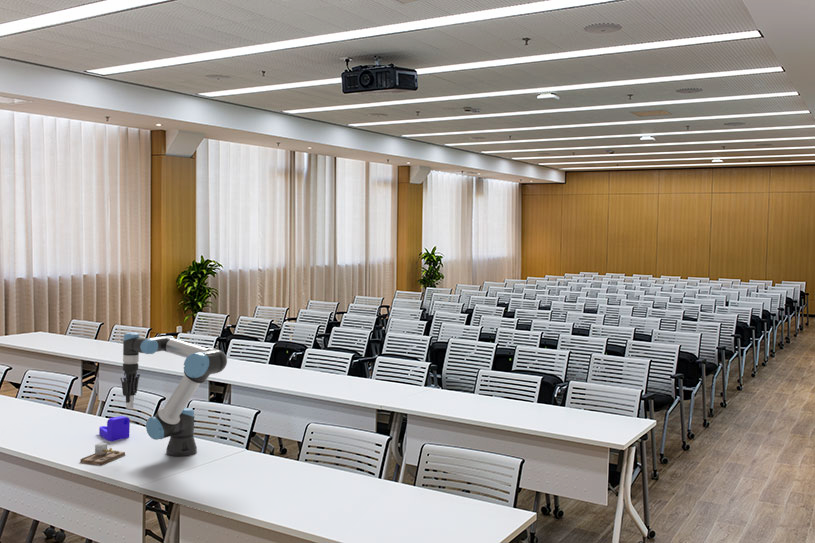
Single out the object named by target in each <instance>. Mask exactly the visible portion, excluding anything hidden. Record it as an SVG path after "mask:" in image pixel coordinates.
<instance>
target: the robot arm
mask: <svg viewBox="0 0 815 543" xmlns="http://www.w3.org/2000/svg"><path fill="white" fill-rule="evenodd" d="M122 343H123V344H122V346H123V348H122V350H123V351H122V361H123V362H122V371H123V372H124V374H123V377H120V381H121V388H122V396H124V397H125V409H126V410H127V409H129V410H131V409H134V401H135V400H134V398H135V396H136V395H137V392H138V386H139V380H140V376H141V374H138V373H137V371H138V370H139V363H138V362H139V354H146V355H154V354H155V353H158V352H165V353H169V354H173V355H175V356H180V357H182V358H185V360H184V362H183V374H184V375H183V377H182V378H181V380H180V381H179V382H178V385H177V387H176V388H175V389H174V391H173V393H172V394H171V396H170V397H169V399H168V400H167V402H166V404H165V405H164V406H163V407H161V408H159V409H158V410H157V412H156V413H155V415H154V416H150V417H149V418H148V419H147V420H146V423H145V428H146V429H145V430H146V433H147V434H148V436H149V438H151V439H152V440H155V441H158V440H163V439H166V438H169V437H170V438H169V441H168V443H167V447H166V450H165V451H166V455H168V456H173V457H186V456H191V455H194V454H196V453H197V452H198V446H197V443H196V440H195V436H194V435H195V410H194V409H192V408H189V407H186V406H187V405H188V404H189V402H190V400H191V398H193V396H194V393H195V392H196V390H197V389H198V388H199V386H200V384H204V383H206V381H207V380H208V378H209V376H211V375H215V374H218V373H221V372H222V371H224V369H225V368H226V366H227V365H228V358H227V355H226V354H225V352H223V351H222V350H220V349H217V348H214V347H208V348H206V347H203V346H199V345H196V344H192V343H190V342H186V341H183V340H179V339H176V337H174V336H172V335H163V336H155V337H154V336H153V337H147V338H146V337H145V338H144V337H140V333H138V332H125V333H124V335H123V341H122Z"/></svg>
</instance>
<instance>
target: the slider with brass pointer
mask: <svg viewBox="0 0 815 543" xmlns="http://www.w3.org/2000/svg"><path fill="white" fill-rule="evenodd" d="M108 448H109V449H108ZM114 451H115V450H114V449H113V448H112V447H108V443H106V442H105V443H104V442H99V443H96V444H94V454H95V455H101V456H102V455H105V454H107V452H114Z"/></svg>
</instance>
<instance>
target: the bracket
mask: <svg viewBox="0 0 815 543" xmlns="http://www.w3.org/2000/svg"><path fill="white" fill-rule="evenodd" d="M130 423H131V420H130V417H128V416H124V415H120V416H115V417H110V418H109V419H108V420H107V422H106V425H102V426H99V430H98V433H99V434H98V435H99V436H100V437H101V438H102V439H105V440H106V441H108V442H115V441H120V440H123V439H128V438H130V428H131V427H130V426H131V424H130Z"/></svg>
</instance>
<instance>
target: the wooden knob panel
mask: <svg viewBox="0 0 815 543" xmlns="http://www.w3.org/2000/svg"><path fill="white" fill-rule="evenodd" d="M125 456H126V452H125V451H119V450H114V452H107V454H105V455H102V456H101V455H95V453H92V454H90V455H87V456H85V457H82V458H80V460H79V462H80V463H82V464H87V465H88V464H89V465H96V466H97V465H98V466H103V465H105V464H108V463H110V462H112V461H116V460H117V459H119V458H120V459H121V458H122V457H125Z"/></svg>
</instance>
